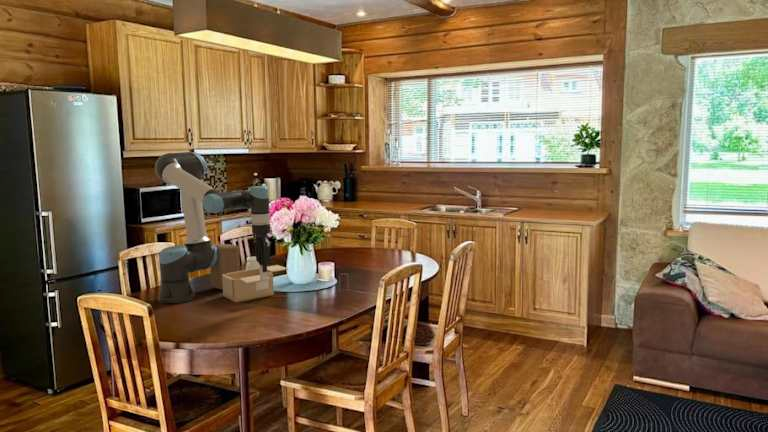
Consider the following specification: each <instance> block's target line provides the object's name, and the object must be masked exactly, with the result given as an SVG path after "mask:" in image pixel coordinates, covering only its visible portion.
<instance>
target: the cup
mask: <svg viewBox="0 0 768 432" xmlns="http://www.w3.org/2000/svg"><path fill="white" fill-rule="evenodd" d="M257 268H260V266H259V263H258V262H257V261H256V255H255V256H249V257H247V258H246V264H245V269H244V270H252V269H257Z"/></svg>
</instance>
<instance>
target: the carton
mask: <svg viewBox="0 0 768 432" xmlns="http://www.w3.org/2000/svg"><path fill="white" fill-rule="evenodd" d="M273 273H274V272H270V271H267V275H268V277H269V278H270V280H265V281H259V282H254V283H248V284H246V283H244V282H243V281H241V280H240V278H245V277H250V276H256V275H260V268H257V269H252V270H245V269H244V270H239V271H237V272H231V273H227V274H222V283H223V290H222V293H223V294H222V295H223V297H224V298H226V299H228V300H230V301H232V302H233V303H241V302H247V301H251V300H257V299H261V298H267V297H271V296H274V295H275V291H274V274H273Z"/></svg>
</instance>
